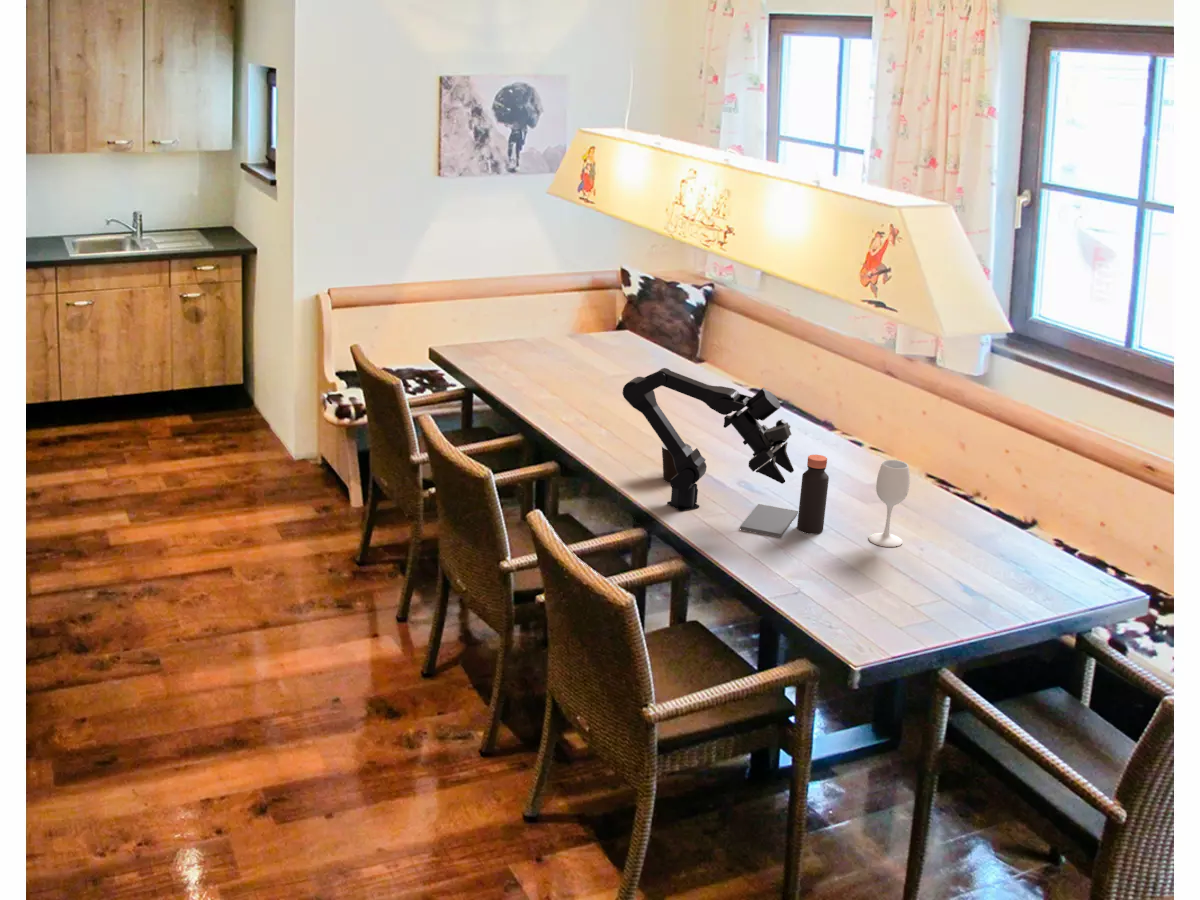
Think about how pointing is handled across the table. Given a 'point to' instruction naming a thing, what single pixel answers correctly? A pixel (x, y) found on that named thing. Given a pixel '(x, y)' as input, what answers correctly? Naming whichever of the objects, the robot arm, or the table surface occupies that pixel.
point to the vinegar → (813, 496)
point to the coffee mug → (669, 463)
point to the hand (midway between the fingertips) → (788, 477)
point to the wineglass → (891, 496)
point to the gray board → (769, 520)
